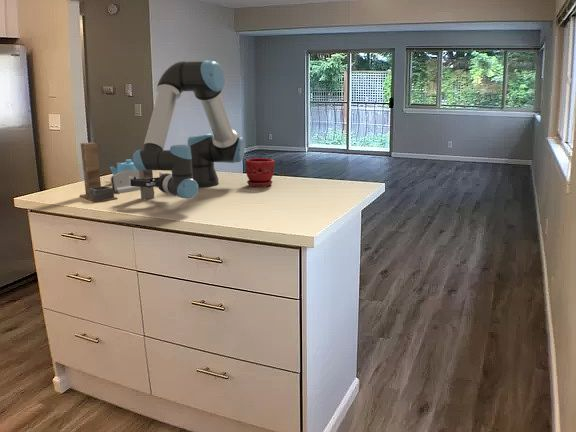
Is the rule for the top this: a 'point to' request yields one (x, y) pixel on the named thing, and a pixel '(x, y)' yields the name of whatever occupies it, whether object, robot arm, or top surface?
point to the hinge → (124, 181)
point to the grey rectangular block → (146, 192)
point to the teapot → (123, 167)
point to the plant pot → (259, 172)
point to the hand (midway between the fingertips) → (145, 177)
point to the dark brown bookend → (93, 175)
